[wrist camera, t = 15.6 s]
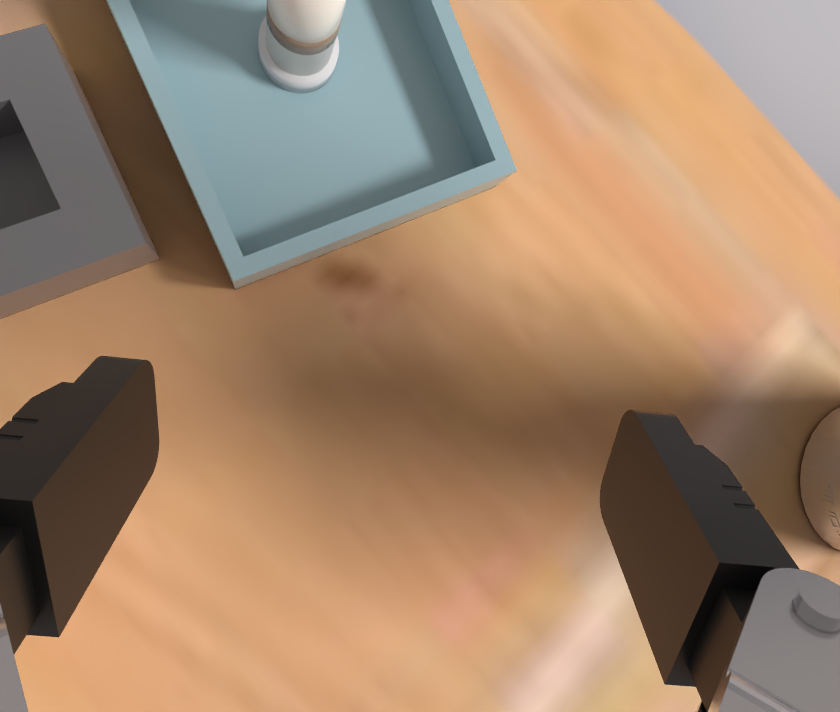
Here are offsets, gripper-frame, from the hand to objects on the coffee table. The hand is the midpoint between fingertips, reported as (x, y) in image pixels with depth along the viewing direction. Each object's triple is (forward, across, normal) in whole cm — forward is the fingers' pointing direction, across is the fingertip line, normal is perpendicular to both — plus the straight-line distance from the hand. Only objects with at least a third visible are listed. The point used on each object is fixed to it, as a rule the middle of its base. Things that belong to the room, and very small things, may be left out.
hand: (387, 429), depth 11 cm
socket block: (+19, +17, +3) cm, 25 cm away
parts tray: (+25, +6, -4) cm, 26 cm away
